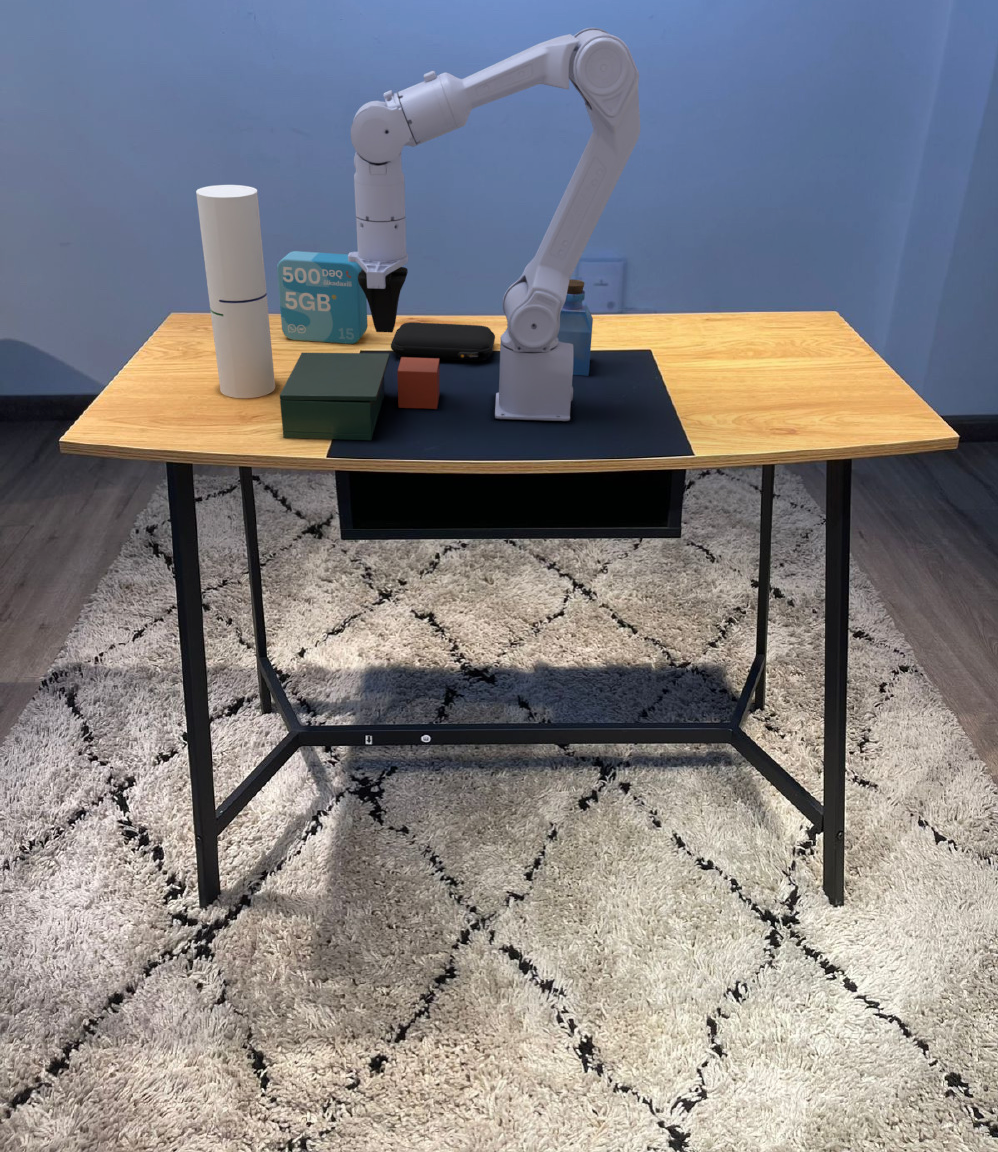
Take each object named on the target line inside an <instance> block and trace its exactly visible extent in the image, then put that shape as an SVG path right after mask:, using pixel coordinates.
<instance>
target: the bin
mask: <svg viewBox="0 0 998 1152" xmlns="http://www.w3.org/2000/svg"><path fill="white" fill-rule="evenodd" d="M385 386H386V385H385V377H384V378H383V381H382V384H381V388H380V391H379V394H378V397H377V400H376V401H352V400H280V399H279V405H280V413H281V414H280V415H281V426H282V437H283V438H284V439H285V438H287V439H314V440H315V439H316V440H342V441H343V440H345V441H346V440H348V441H372V439H373V436H374V432H375V430H376V425H377V422H378V419H379V415H380V412H381V408H382V405H383V403H384V402H383V401H384V399H385V395H386V390H385V389H386V388H385Z"/></svg>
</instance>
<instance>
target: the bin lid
mask: <svg viewBox="0 0 998 1152" xmlns="http://www.w3.org/2000/svg"><path fill="white" fill-rule="evenodd" d="M390 355H391V354H390V353H387V352H385V353H381V352H379V353H377V352H374V353H372V352H368V353H367V352H301V353H300V355H299V357H298V359H297V361H296V363H295V365H294V366H293V368H292V371H291V372H290V374H289V376H288V378H287V380H286V382H285V384H284V386H283V387H282V389H281V391H280V394H279V401H280V400H352V401H376V400H377V397H378V394H379V391H380V388H381V384H382V381H383V378H384V379H385V375H386V371H387V368H388V364H389V361H390V358H391V356H390Z"/></svg>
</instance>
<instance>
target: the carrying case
mask: <svg viewBox="0 0 998 1152" xmlns="http://www.w3.org/2000/svg"><path fill="white" fill-rule="evenodd" d="M495 341H496V334H495V333H494V332H493V331H492V329H491V328H490V327H489V326H486V325H481V324H480V325H478V324H457V323H437V322H436V323H435V322H404V323H402V324H401V325H400V326H399V327H398V328H397V329H396V331H395V333H394V336H393V338H392V340H391V342H390V348H391V350H392V352H393V353H395V355H396V356H397V357H400V358H401V357H408V358H438V359H439V361H442V360H443V361H464V362H465V361H467V362H468V361H470V362H482V361H485V360H487V359H488V358H489V357H490V356H491V355H492V354H493V352H494V346H495Z"/></svg>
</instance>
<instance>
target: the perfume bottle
mask: <svg viewBox="0 0 998 1152" xmlns="http://www.w3.org/2000/svg"><path fill="white" fill-rule="evenodd" d="M584 287H585V282H584V281H583V280H580V279H571V278H570V280H569V285H568V290H567V296H566V300H565V303H564V305H563V307H562V309H561V312H560V328H559V332H558V335H557V338H558V341H559V342H563V343H570V344H573V376H585V377H588V376H589V373H590V363H591V348H592V336H593V323H594V318H593V316H592V314H591V311H590V309H589V307H588V304H587V303H586V302H583V301H585V298H586V297H585V296H586V291H585V290H584Z"/></svg>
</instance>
